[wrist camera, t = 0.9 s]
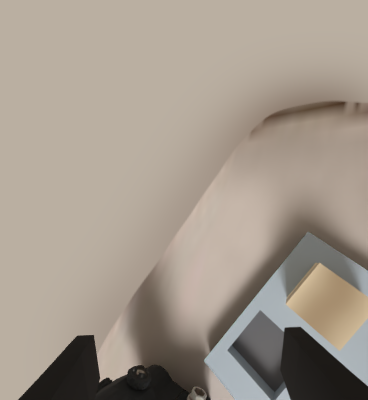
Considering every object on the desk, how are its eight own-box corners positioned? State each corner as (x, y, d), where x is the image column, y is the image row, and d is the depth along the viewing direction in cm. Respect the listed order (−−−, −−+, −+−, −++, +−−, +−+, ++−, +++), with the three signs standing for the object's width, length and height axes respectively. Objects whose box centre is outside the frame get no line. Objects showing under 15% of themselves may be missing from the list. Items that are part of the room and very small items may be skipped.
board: (580, 415, 14) (661, 457, 11) (408, 592, 15) (438, 676, 12) (306, 234, 23) (309, 229, 20) (210, 353, 24) (197, 366, 21)
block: (362, 297, 18) (379, 304, 15) (330, 334, 18) (339, 351, 15) (314, 262, 20) (319, 262, 17) (286, 297, 20) (285, 304, 17)
